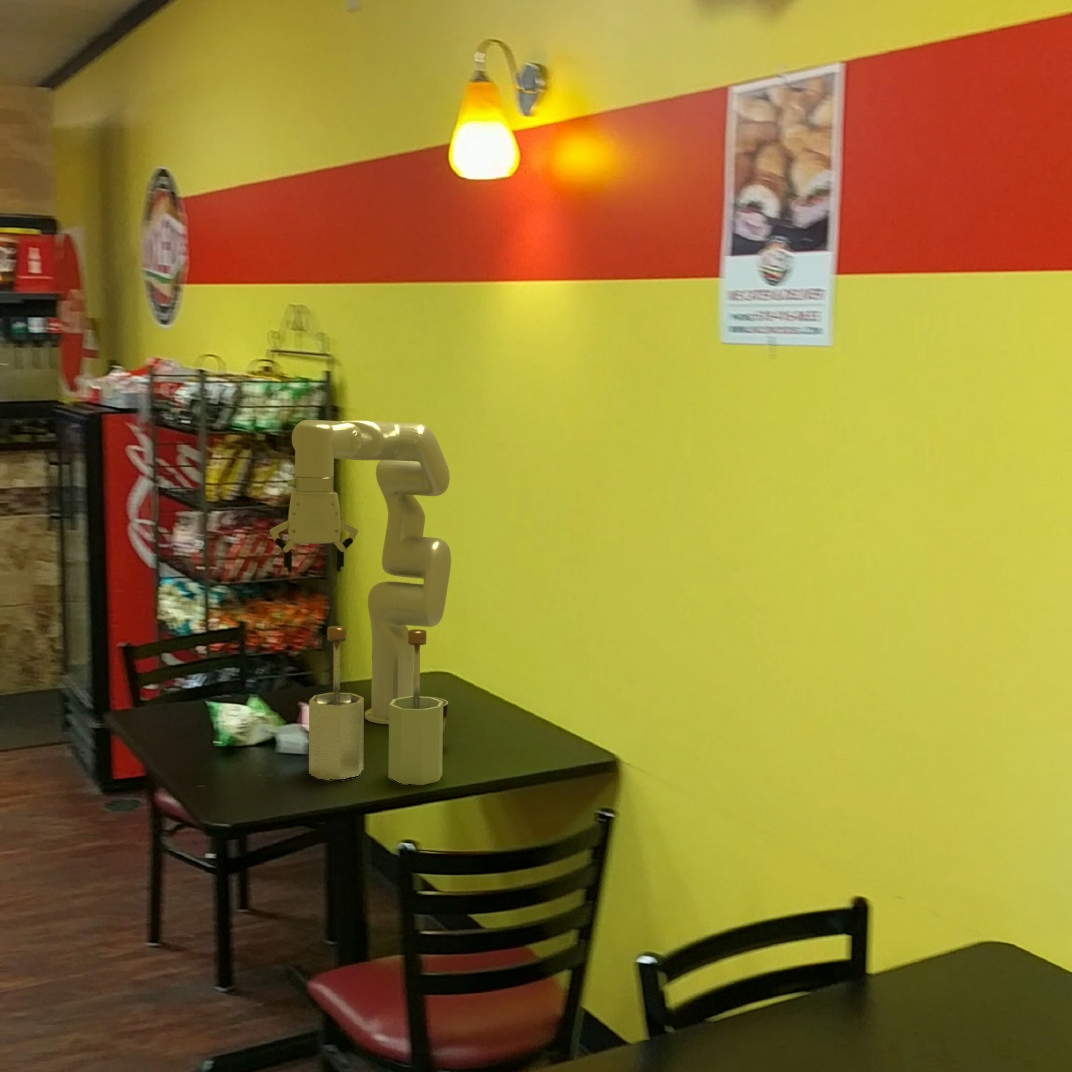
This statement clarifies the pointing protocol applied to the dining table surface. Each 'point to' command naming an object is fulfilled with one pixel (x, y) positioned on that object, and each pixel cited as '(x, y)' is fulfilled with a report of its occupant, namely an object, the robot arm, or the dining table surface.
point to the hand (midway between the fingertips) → (313, 571)
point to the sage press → (415, 740)
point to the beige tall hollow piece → (336, 736)
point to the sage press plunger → (416, 662)
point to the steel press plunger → (337, 657)
